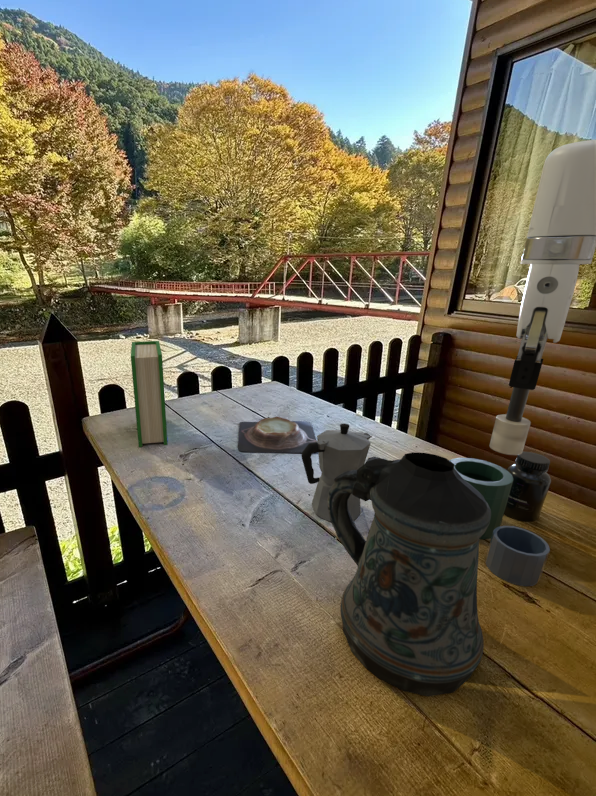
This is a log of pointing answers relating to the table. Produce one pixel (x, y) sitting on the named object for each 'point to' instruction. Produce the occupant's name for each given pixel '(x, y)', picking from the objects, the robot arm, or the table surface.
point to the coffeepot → (335, 464)
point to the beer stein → (413, 571)
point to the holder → (517, 555)
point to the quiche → (275, 435)
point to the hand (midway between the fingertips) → (522, 384)
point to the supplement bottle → (528, 487)
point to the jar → (487, 486)
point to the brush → (512, 426)
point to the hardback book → (149, 392)
